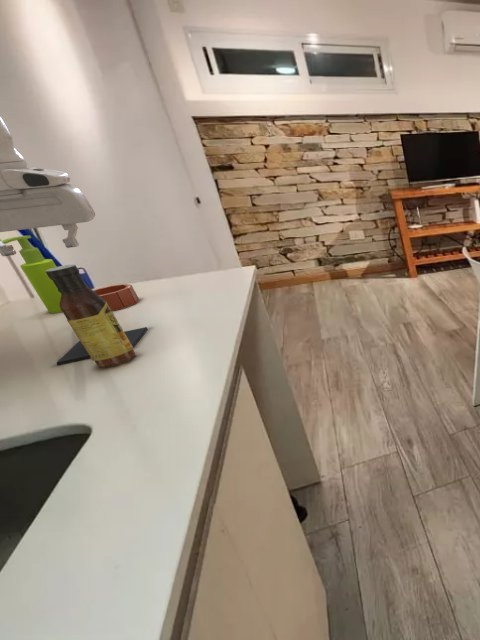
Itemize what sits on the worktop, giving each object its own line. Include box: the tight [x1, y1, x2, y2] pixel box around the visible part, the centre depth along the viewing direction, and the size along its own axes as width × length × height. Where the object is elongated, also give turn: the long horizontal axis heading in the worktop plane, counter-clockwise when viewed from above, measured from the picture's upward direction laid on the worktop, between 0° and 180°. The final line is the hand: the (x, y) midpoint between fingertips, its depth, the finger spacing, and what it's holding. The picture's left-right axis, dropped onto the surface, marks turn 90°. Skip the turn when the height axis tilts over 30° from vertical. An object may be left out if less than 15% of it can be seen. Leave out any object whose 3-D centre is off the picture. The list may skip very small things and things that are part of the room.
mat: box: [56, 326, 148, 366], centre depth 103 cm, size 12×12×1 cm
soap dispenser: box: [0, 235, 63, 314], centre depth 124 cm, size 6×7×20 cm
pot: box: [92, 283, 140, 312], centre depth 127 cm, size 10×10×4 cm
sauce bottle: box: [46, 263, 136, 368], centre depth 91 cm, size 6×6×20 cm
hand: (42, 250), depth 95 cm, fingers open, 8 cm apart
